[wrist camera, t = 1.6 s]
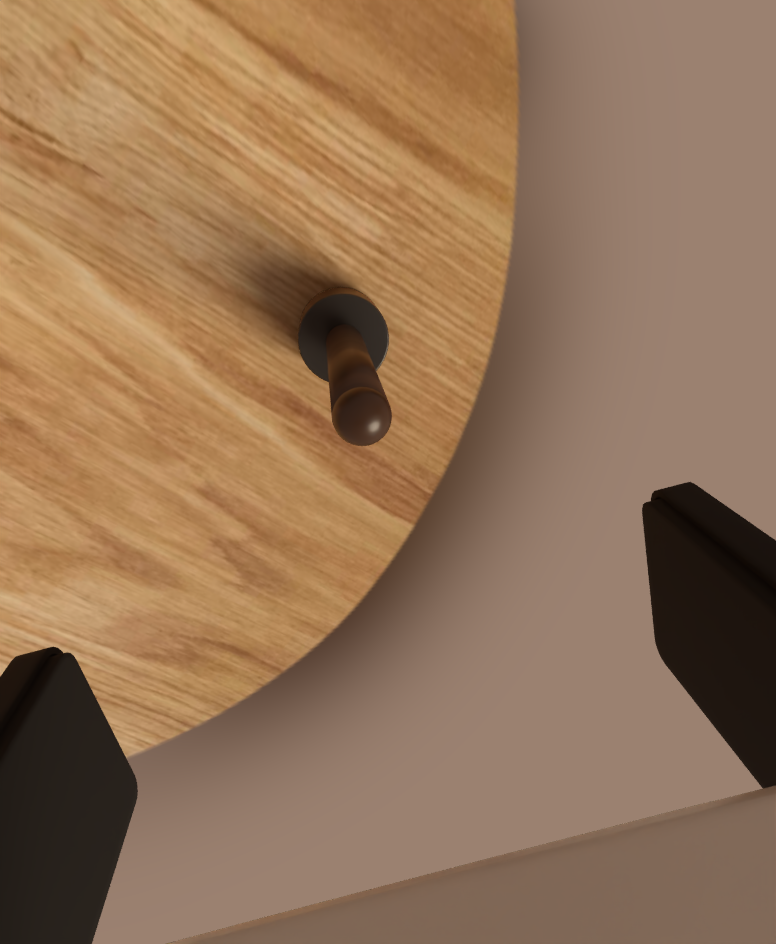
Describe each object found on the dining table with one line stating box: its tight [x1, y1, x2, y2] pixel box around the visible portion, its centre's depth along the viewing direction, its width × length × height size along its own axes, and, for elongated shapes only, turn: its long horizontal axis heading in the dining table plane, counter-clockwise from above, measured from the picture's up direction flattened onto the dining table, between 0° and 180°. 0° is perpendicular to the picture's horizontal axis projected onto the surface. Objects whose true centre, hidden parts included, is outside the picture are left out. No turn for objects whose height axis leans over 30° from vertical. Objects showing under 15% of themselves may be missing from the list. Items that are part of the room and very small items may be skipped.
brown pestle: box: [298, 287, 392, 446], centre depth 24 cm, size 4×4×16 cm
